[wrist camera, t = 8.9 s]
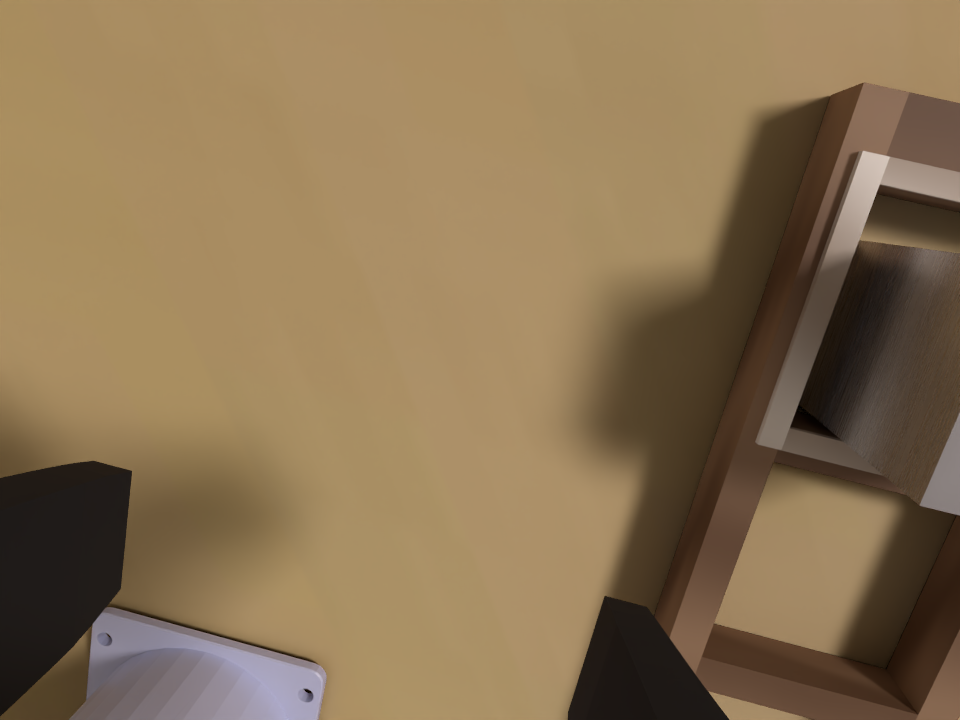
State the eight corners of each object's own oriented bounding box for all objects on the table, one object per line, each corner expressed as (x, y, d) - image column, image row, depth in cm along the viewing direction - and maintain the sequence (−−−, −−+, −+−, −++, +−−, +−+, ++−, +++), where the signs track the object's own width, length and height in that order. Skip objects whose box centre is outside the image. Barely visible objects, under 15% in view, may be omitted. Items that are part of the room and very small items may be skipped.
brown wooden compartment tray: (814, 899, 22) (840, 967, 20) (580, 833, 22) (582, 892, 20) (1162, 167, 16) (1246, 163, 14) (831, 95, 16) (868, 80, 14)
